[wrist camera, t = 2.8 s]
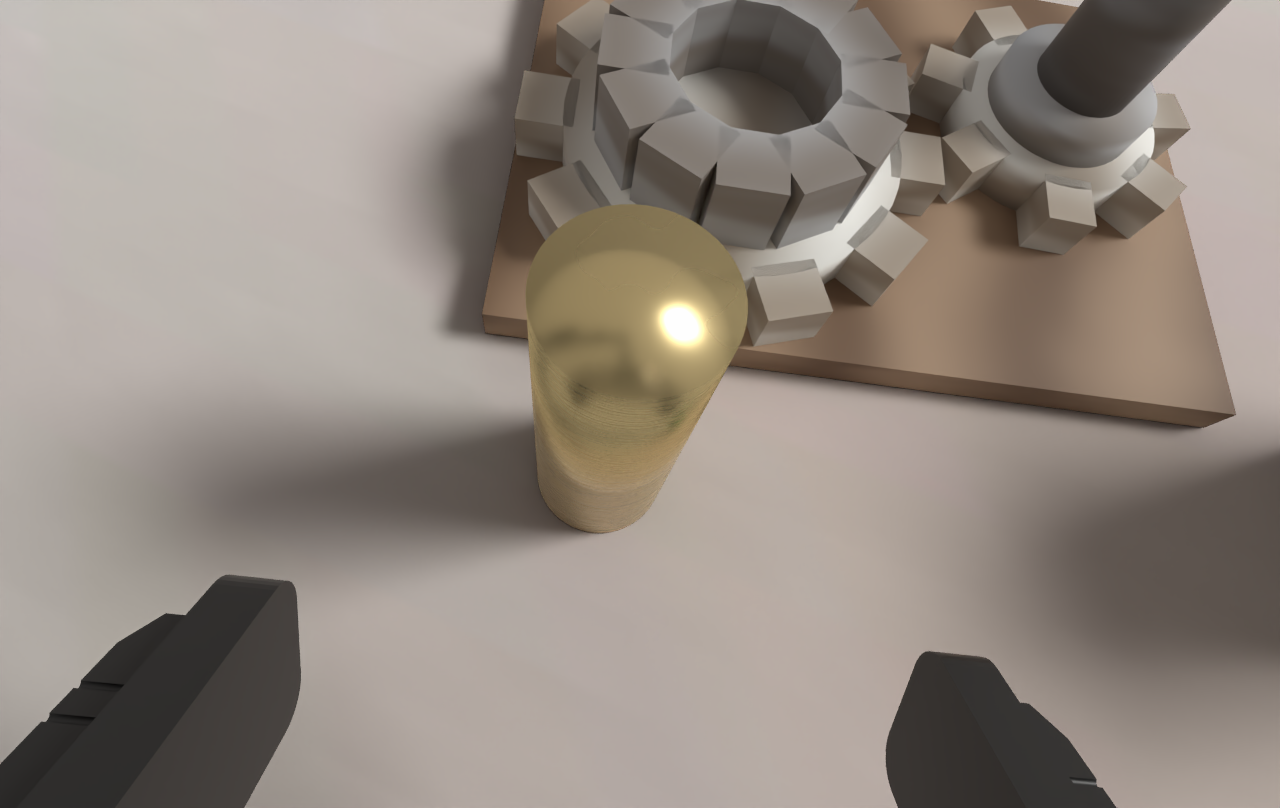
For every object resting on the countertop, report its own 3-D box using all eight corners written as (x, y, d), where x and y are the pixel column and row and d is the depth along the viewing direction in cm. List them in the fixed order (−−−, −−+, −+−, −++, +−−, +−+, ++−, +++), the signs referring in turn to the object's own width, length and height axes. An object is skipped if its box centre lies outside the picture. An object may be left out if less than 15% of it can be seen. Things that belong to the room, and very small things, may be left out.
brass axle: (528, 525, 20) (508, 383, 10) (546, 407, 21) (542, 190, 12) (655, 539, 20) (745, 413, 11) (664, 422, 21) (751, 221, 12)
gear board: (485, 333, 22) (429, 32, 12) (561, -55, 29) (566, -451, 19) (1203, 427, 23) (1684, 237, 14) (1111, 41, 30) (1384, -273, 20)
